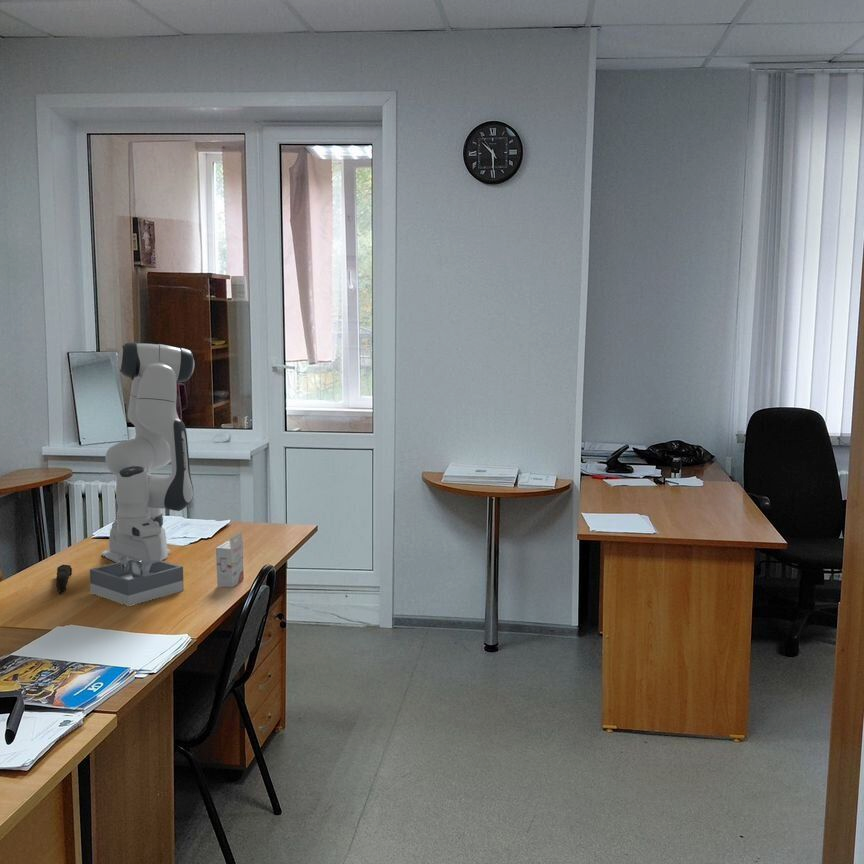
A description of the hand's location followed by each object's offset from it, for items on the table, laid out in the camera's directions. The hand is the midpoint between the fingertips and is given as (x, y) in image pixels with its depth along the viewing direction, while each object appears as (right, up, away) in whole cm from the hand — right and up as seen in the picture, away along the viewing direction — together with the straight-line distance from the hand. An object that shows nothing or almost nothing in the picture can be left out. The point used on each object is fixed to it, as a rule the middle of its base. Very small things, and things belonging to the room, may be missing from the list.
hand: (135, 572), depth 255 cm
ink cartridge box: (+25, -5, +10) cm, 27 cm away
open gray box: (0, -6, +1) cm, 6 cm away
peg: (+1, -6, +1) cm, 6 cm away
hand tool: (-22, -5, +6) cm, 24 cm away
